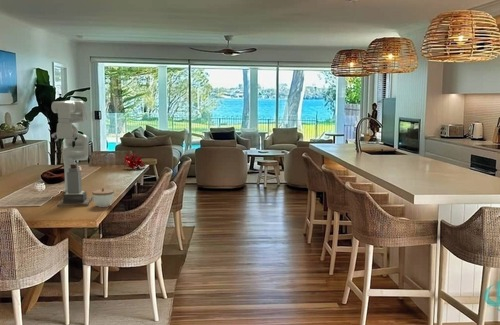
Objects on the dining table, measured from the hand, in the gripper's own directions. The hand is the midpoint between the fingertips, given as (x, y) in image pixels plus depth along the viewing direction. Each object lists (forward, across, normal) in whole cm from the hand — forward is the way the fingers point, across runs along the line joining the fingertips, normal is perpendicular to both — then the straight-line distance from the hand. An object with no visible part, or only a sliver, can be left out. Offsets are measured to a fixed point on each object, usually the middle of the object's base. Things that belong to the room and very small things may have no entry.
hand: (65, 147), depth 313 cm
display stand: (+34, -7, +14) cm, 38 cm away
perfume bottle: (+28, -7, +14) cm, 32 cm away
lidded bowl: (+34, -25, +25) cm, 49 cm away
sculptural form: (+35, -34, -133) cm, 142 cm away
